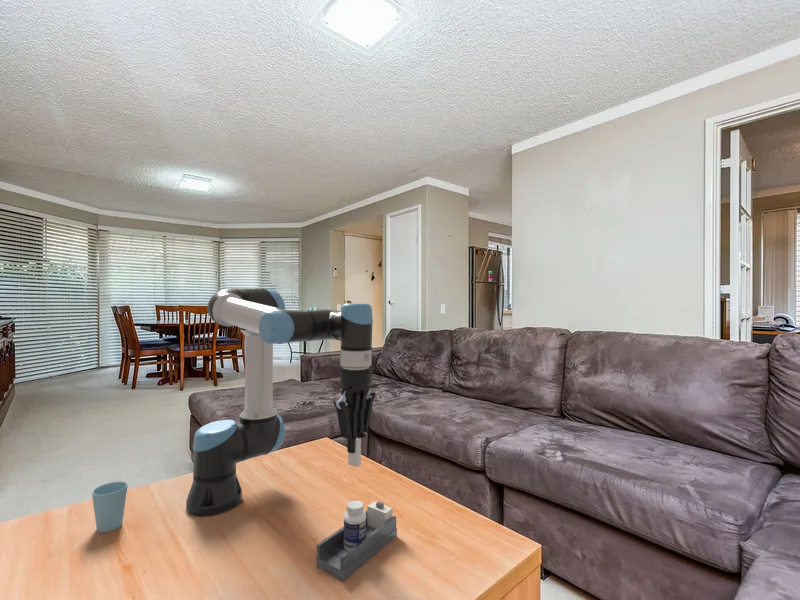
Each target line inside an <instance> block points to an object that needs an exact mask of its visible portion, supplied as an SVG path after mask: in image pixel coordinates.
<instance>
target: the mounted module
mask: <svg viewBox="0 0 800 600" xmlns="http://www.w3.org/2000/svg"><path fill="white" fill-rule="evenodd" d="M366 507H367V508H366V509H367V510H366V511H367V525H368V526H370V527H373V528H375V529H377V528H378V527H380V526H381V525H382V524H384V523H385V522H386V521H388V520H389V519H390V518H392V517H393V516H394V514H393V512H394V511H393V509H394V508H393V507H390V506H388V505H385V503H384V502H382V501H373V502H371V503H369V504H368V505H367V506H366Z"/></svg>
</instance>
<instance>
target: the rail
mask: <svg viewBox="0 0 800 600" xmlns="http://www.w3.org/2000/svg"><path fill="white" fill-rule="evenodd" d="M364 512H365V513H366V537H365V538H364V539H363V540H361V541H360V542H359V543H357V544H356V545H355V546H353V547H352V548H351V549H350V550H347V549H345V547H344V526H342V527H341V528H339V529H338V530H336V531H335V532H333V533H332V534H330V535H329V536H327V537H325V538H324V539H323V540H322V541H320V542H318V543H316V556H315V557H316V558H315V559H316V560H315V561H316V562H315V563H316V565H315V566H316V567H317V568H318V569H320V570H323V571H324V572H326V573H328V574H329V575H332V576H334V577H335V578H337V579H339V580H341V581H342V582H345V581H346V580H348V578H350V576H352V575H353V574H355V572H356V571H358V570H359V569H360V568H361V567H363V565H365V564H366V563H367V562H368V561H370V560H371V559H372V558H373V557H375V556H376V554H378V553H379V552H380V551H382V550H383V549H384V548H385V547H386V546H388V544H390V543H391V542H392V541H393V540H394V539H396V538H397V537H398V528H397V516H396V515H393V517H392V518H390V519H389V520H388V521H386V522H385V523H384V524H382V525H381V526H380V527H378V528H377V529H375V528H373V527H370V526H368V525H367V510H366V511H364Z"/></svg>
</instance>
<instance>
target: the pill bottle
mask: <svg viewBox="0 0 800 600" xmlns="http://www.w3.org/2000/svg"><path fill="white" fill-rule="evenodd" d="M346 504H347V505H346V512H345V513H344V516H343V527H344V547H345V549H347V550H350V549H351V548H352V547H353V546H355V545H356V544H357V543H359V542H360V541H361V540H363V539H364V538H365V537H366V513H365V512H366V511H364V507H365V506H364V505H365V504H364V503H363V502H362V501H361V500H352V501H349V502H348V503H346Z"/></svg>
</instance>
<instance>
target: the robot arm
mask: <svg viewBox="0 0 800 600" xmlns="http://www.w3.org/2000/svg"><path fill="white" fill-rule="evenodd" d="M372 307H373V306H371V304H369V303H347V302H346V303H343V304H342V305H341V310H332V309H318V310H317V309H316V310H288V309H286V305H285V302H284V299H283V297H282V296H281V294H280V293H279V292H278V291H276V290H275V289H274V290H273V289H267V288H236V287H233V288H232V287H230V288H224V289H221V290H219V291H218V292H215V294H213V295H212V296H211V297H210V299H209V300H208V303H207V309H206V310H207V311H206V312H207V315H208V316H209V318H210V319H211V320H212V322H214V323H216V324H218V325H221V326H224V327H234V326H235V327H237V328H239V329H240V332H241V333H242V334H243V335H244V337H245V338H244V409H243V411H242V412H241V413H240V414H239V422H236V421H235V420H233V419H223V420H221V419H220V420H216V421H212V422H209V423H207V424H205V425H202V426H200V427H199V428H198V430H196V431H195V433H194V436H193V444H192V450H193V451H192V453H193V454H192V455H193V461H192V463H193V464H192V468H193V470H192V475H193V478H192V483H191V486H190V490H189V493H188V496H187V498H186V502H185V503H186V504H185V505H186V506H185V507H186V508H185V510H186V512H187V513H188V514H190V515H192V516H197V517H211V516H215V515H216V516H217V515H219V514H220V515H221V514H223V513H226V512H229V511H231V510H232V509H234V508H236V507H237V506H238V505H239V504H240V503H241V502H242V499H243V490H242V489H243V488H242V487H241V484H240V481H239V478H238V476H237V463H240V462H245V461H246V460H250V459H254V458H257V457H261V456H266V455H269V454H270V453H272V452H275V451H277V450H278V449H279V448H280V447H281V446H282V444H283V442H284V440H285V434H286V427H285V423H284V420H283V417H281V416H280V415H279V414H278V410H277V409H275V408H274V407H273V406H274V404H273V403H274V402H273V399H274V398H273V393H274V392H273V391H274V387H273V385H274V384H273V383H274V381H273V380H274V379H273V378H274V377H273V376H274V374H273V373H274V356H273V355H274V344H275V345H283V344H289V343H299V342H314V341H315V342H316V341H327V340H331V341H332V340H333V341H340V357H339V358H340V363H339V365H340V366H341V369H340V371H339V372H340V373H339V382H340V384H341V385H342V390H341V392H340V394H341V396H340V397H339V398H338V399H335V400H333V405H334V408H335V410H336V415H337V420H338V421H337V422H338V425H339V426H338V428H339V432H340V438H342V439H346V442H347V444H346V445H347V446H346V447H347V453H348V458H347V464H348V465H350V466H352V467H356V468H357V467H361V466H362V462H361V461H362V448H363V438H364V439H365V438H366V437H367V434H366V433H368V432H369V428H370V423H371V416H372V411H373V404H374V400H375V397H376V391H372V390H371V389H370V386H369V385H370V384H371V383H372V373H373V372H372V371H373V370H372V368H371V366H372V348H373V323H374V319H373V308H372Z"/></svg>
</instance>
